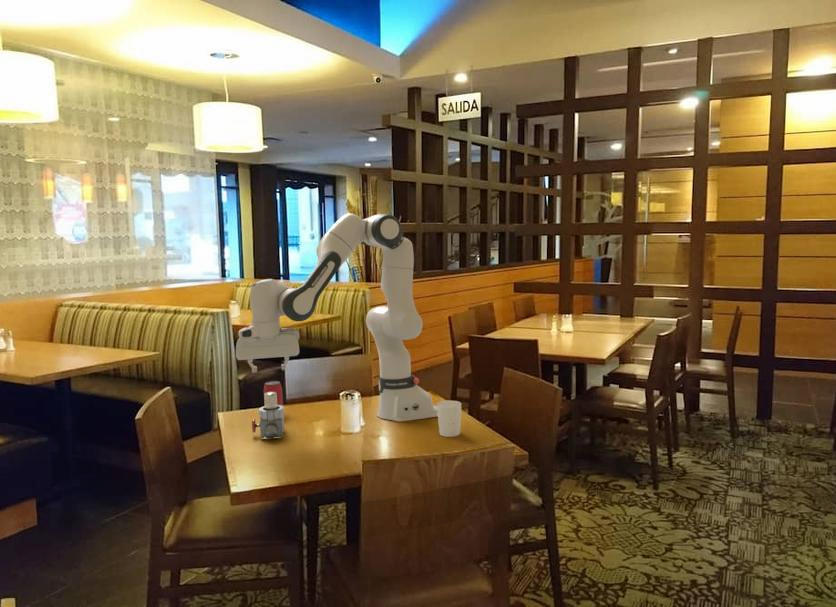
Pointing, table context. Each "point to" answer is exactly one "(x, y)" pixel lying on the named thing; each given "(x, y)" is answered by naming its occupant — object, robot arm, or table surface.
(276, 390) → the beer can
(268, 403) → the pipe nipple
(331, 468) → the table surface
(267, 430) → the valve body
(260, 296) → the robot arm
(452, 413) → the white cup
